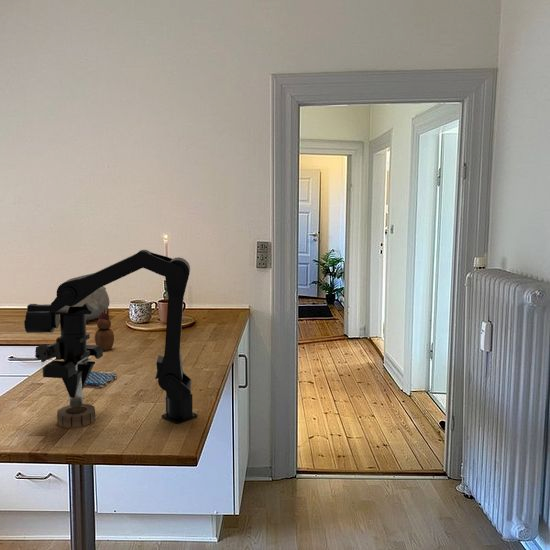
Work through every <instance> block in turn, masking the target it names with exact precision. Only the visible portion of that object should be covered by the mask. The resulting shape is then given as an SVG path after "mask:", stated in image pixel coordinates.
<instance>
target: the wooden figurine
mask: <svg viewBox="0 0 550 550" xmlns="http://www.w3.org/2000/svg"><path fill="white" fill-rule="evenodd" d="M109 313H110V309H109V308H108V309H107V311H106V312H105V309H104V314H103V312H102V314H100V316H99V317H98V320H97V322H96V324H97V325H96V326H97V330H96V331H95V334H94V342H95V345H99V346H100V347H101V348H102V349H103V351H109V350H111V349H112V348H113V346H114V343H115V334H114V331H113V330H112V329H111V328H112V327H111V326H112V323H111V322H112V321H111V319H110V314H109Z"/></svg>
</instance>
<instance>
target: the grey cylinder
mask: <svg viewBox="0 0 550 550" xmlns="http://www.w3.org/2000/svg"><path fill="white" fill-rule="evenodd" d="M68 397H69V399H68V400H69V405H70V407H79V406H81V405H83V404H84V403H83V401H84V400H83V390H82V374H81V377H80V381H79V385H78V388H77V392H76V395H75V397H74V398H71V397H70V396H69V395H68Z"/></svg>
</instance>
